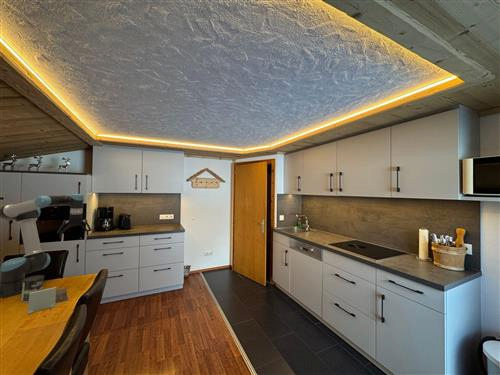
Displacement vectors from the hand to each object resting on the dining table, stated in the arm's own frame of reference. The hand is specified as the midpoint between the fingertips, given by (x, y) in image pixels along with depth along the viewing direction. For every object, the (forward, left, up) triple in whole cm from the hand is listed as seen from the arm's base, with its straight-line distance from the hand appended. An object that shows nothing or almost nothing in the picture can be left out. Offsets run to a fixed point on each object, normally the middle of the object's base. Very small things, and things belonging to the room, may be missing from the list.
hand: (74, 241), depth 155 cm
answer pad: (+14, -7, -37) cm, 40 cm away
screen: (+21, -16, -37) cm, 45 cm away
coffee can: (0, -20, -37) cm, 42 cm away
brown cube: (+14, -7, -36) cm, 39 cm away
